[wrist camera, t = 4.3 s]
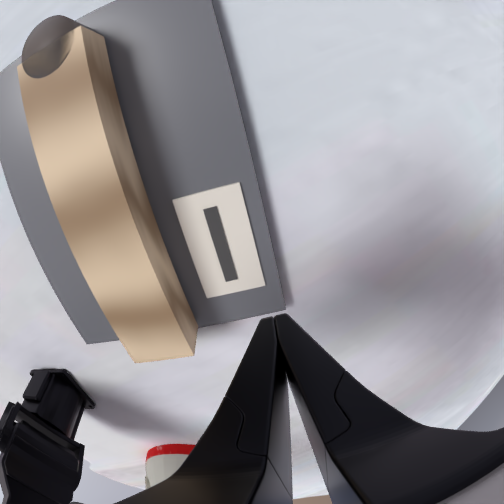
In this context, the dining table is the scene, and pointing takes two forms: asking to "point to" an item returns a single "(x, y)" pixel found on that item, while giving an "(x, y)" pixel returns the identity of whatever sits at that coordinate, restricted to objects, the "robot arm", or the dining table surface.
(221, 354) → the dining table surface
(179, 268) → the label panel
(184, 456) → the kitchen timer
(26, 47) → the swing arm
